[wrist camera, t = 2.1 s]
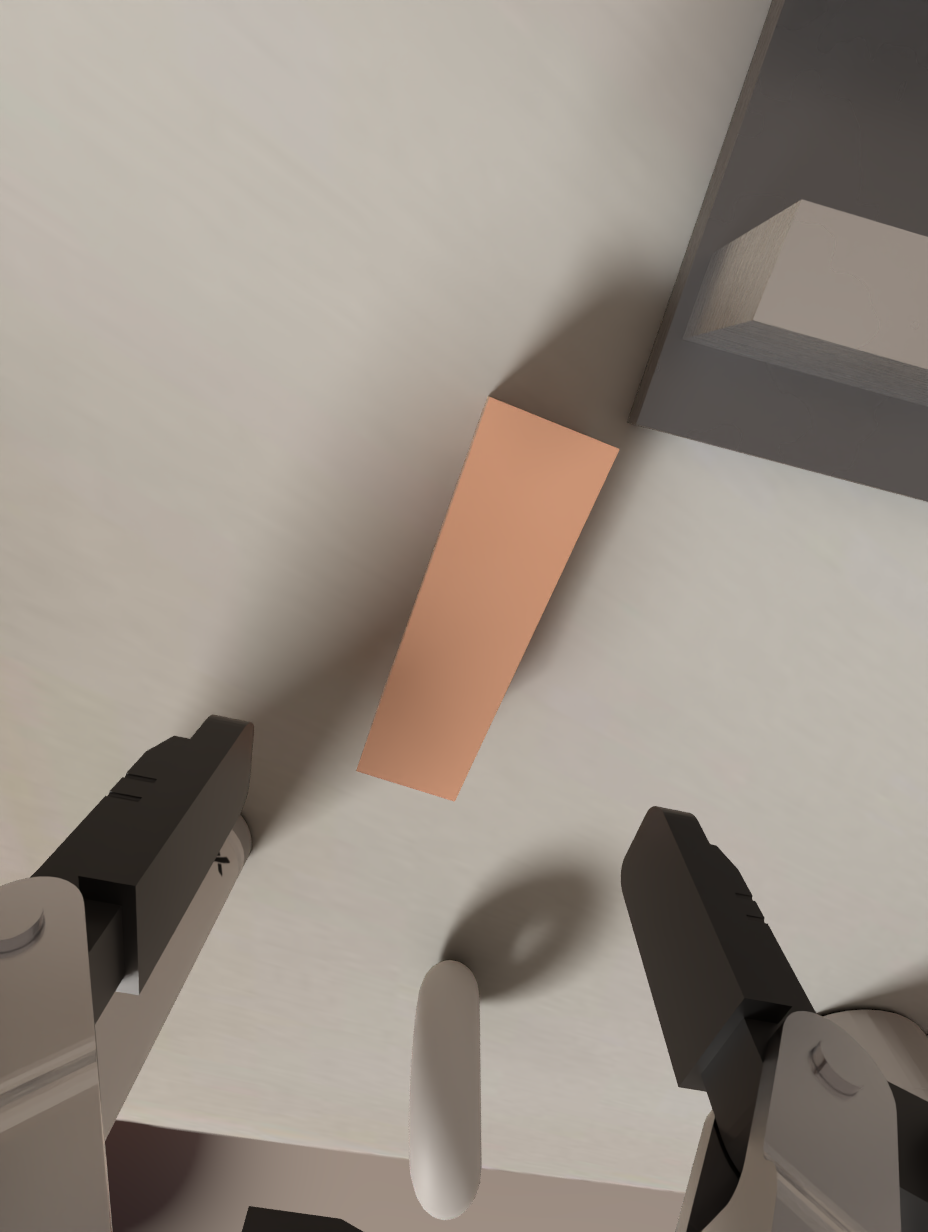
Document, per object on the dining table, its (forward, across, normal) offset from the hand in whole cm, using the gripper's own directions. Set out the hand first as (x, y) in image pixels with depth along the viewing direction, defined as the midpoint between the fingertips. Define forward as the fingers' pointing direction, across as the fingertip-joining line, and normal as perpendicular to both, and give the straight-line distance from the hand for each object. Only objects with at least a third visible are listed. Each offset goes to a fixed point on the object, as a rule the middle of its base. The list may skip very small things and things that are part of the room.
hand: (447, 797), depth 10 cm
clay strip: (+13, 0, 0) cm, 13 cm away
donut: (+12, -5, +25) cm, 28 cm away
